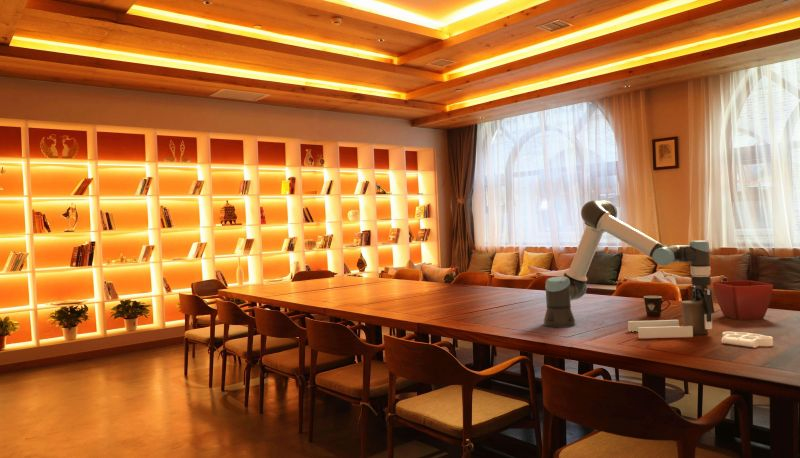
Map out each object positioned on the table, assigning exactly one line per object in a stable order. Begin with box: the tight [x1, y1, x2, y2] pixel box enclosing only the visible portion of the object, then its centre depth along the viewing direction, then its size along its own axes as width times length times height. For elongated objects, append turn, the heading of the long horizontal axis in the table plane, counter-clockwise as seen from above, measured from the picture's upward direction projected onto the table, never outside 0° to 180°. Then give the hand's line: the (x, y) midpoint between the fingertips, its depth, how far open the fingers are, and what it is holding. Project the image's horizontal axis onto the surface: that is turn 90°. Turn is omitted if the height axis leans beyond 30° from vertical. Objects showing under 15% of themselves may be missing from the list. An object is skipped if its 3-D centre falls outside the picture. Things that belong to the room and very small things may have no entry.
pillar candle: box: [681, 299, 709, 336], centre depth 243 cm, size 10×10×15 cm
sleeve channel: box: [627, 319, 694, 339], centre depth 244 cm, size 22×15×4 cm
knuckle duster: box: [720, 331, 774, 349], centre depth 220 cm, size 3×18×15 cm
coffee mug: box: [643, 295, 671, 318], centre depth 283 cm, size 12×9×10 cm
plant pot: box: [712, 280, 774, 321], centre depth 270 cm, size 19×19×17 cm
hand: (703, 326), depth 242 cm, fingers open, 10 cm apart
